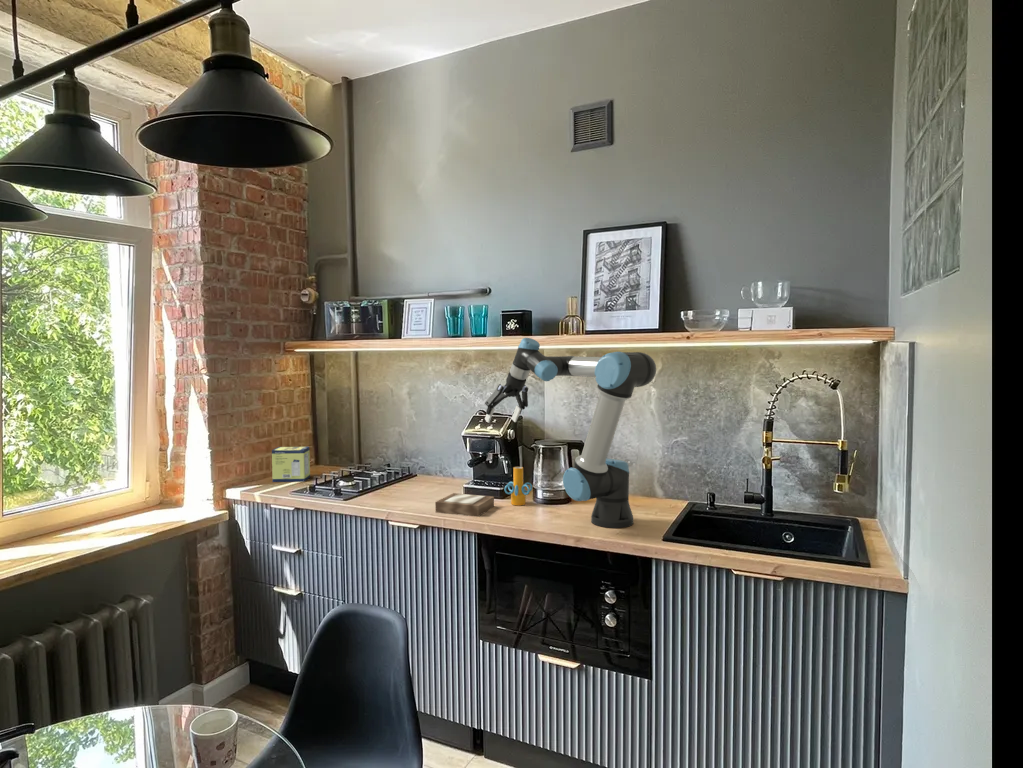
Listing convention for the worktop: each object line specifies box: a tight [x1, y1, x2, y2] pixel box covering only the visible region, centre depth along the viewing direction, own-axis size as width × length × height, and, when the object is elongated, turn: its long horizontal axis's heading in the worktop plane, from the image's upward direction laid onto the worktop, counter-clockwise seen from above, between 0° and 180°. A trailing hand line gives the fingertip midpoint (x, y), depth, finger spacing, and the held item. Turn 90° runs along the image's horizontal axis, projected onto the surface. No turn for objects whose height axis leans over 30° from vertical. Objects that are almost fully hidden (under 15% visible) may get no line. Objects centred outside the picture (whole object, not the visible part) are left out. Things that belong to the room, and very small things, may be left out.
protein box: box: [271, 446, 311, 483], centre depth 297 cm, size 10×16×16 cm
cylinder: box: [504, 466, 533, 506], centre depth 248 cm, size 12×10×15 cm
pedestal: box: [435, 492, 495, 517], centre depth 240 cm, size 18×16×4 cm
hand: (500, 420), depth 248 cm, fingers open, 13 cm apart
